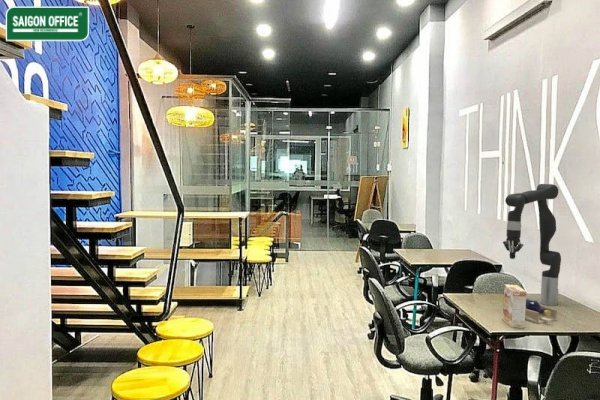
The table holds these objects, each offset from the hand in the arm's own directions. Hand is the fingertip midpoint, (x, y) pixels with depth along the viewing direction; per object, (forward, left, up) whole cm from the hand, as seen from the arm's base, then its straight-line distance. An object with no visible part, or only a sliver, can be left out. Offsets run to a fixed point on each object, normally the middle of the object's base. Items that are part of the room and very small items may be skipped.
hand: (512, 258), depth 292 cm
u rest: (0, +17, -31) cm, 35 cm away
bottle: (-5, -1, -26) cm, 27 cm away
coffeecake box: (+20, +19, -31) cm, 42 cm away
